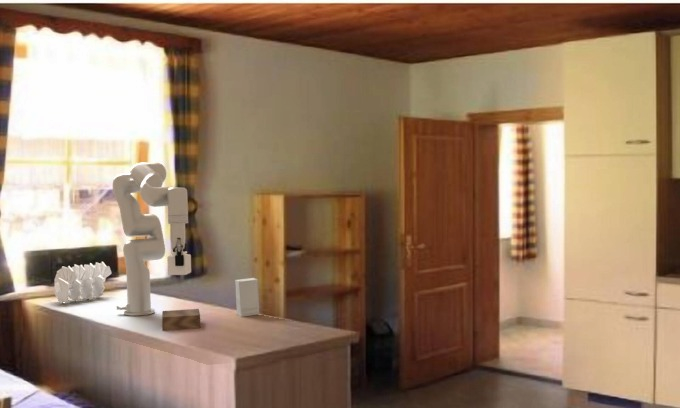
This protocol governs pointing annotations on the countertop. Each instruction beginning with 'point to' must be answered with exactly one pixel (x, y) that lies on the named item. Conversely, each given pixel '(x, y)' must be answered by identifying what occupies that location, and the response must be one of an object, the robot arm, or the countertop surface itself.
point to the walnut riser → (180, 319)
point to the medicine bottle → (179, 269)
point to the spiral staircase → (80, 281)
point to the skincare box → (247, 297)
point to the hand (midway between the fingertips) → (179, 264)
